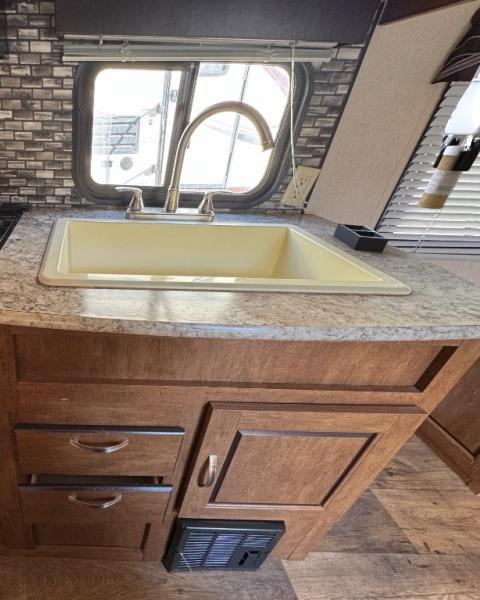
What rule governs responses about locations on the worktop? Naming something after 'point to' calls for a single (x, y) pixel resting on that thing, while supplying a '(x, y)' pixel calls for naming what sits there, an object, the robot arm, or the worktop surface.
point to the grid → (360, 237)
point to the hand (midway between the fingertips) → (449, 168)
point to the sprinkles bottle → (441, 180)
